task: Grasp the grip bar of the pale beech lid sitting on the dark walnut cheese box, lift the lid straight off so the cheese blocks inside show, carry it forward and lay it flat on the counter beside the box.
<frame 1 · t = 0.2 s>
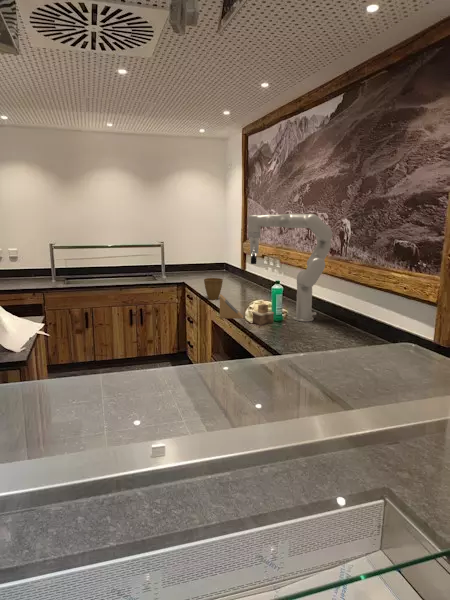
hand: (253, 263, 261), 36 cm above the counter, tool pointing down, fingers open, 9 cm apart
sandwich container: (231, 317, 276), on the counter
lid: (263, 313, 259), point 6 cm above the counter, touching box
box: (262, 322, 260), on the counter
plant pot: (213, 299, 334), on the counter
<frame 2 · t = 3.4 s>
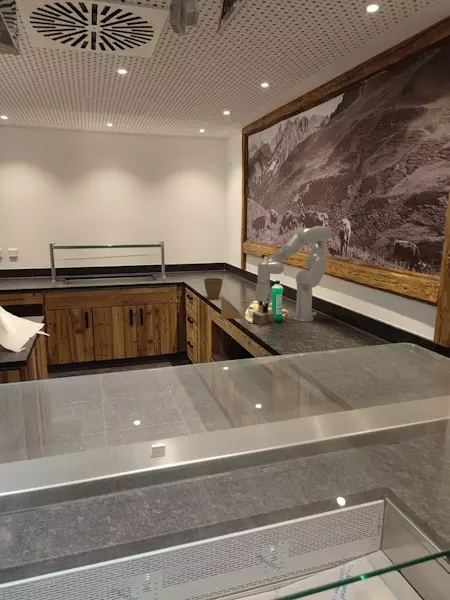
hand: (263, 311, 259), 7 cm above the counter, tool pointing down, fingers closed on lid, 3 cm apart
lid: (263, 313, 259), point 6 cm above the counter, touching box, gripper
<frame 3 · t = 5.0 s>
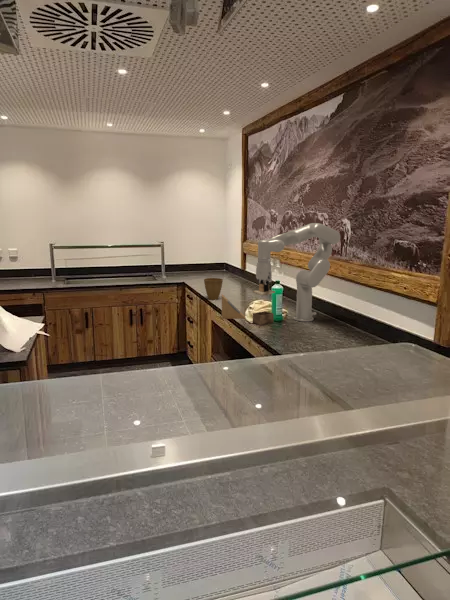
hand: (264, 290, 256), 21 cm above the counter, tool pointing down, fingers closed on lid, 3 cm apart
lid: (263, 292, 256), point 19 cm above the counter, touching gripper
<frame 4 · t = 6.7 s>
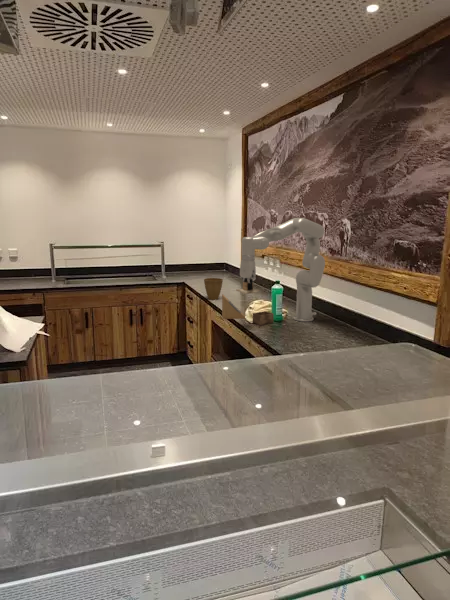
hand: (247, 288, 249), 23 cm above the counter, tool pointing down, fingers closed on lid, 3 cm apart
lid: (247, 291, 249), point 21 cm above the counter, touching gripper
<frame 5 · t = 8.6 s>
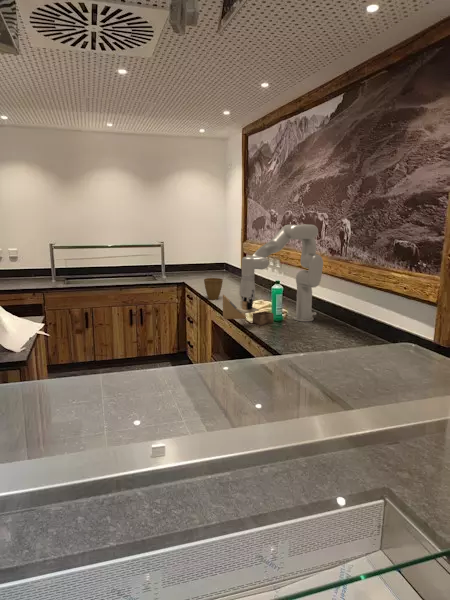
hand: (247, 308, 251), 11 cm above the counter, tool pointing down, fingers closed on lid, 3 cm apart
lid: (247, 310, 251), point 10 cm above the counter, touching gripper
when the fingers open (4 cm above the counter, at t = 10.3 s): lid drops 2 cm, point 1 cm above the counter.
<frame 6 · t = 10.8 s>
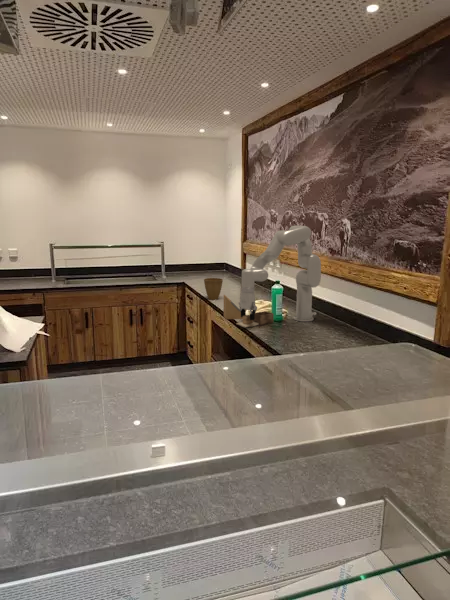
hand: (247, 318, 252), 5 cm above the counter, tool pointing down, fingers open, 8 cm apart
lid: (247, 324, 253), point 1 cm above the counter
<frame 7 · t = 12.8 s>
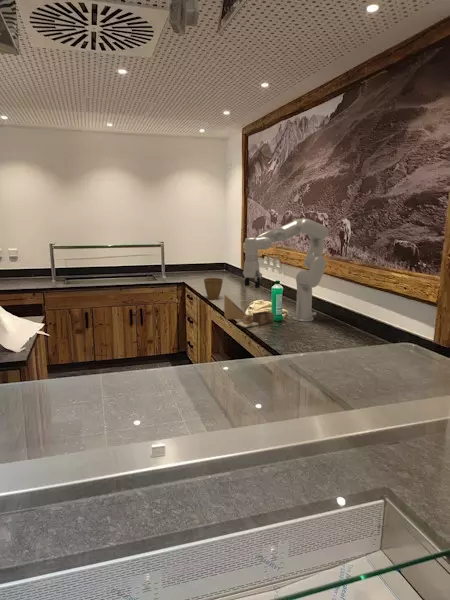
hand: (252, 286, 253), 23 cm above the counter, tool pointing down, fingers open, 9 cm apart
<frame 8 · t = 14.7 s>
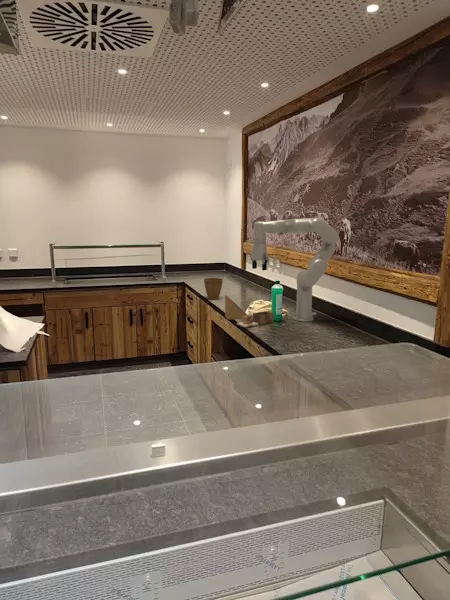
hand: (259, 269, 262), 32 cm above the counter, tool pointing down, fingers open, 9 cm apart
at the end: lid inside the target area (0.1 cm from its centre), point 0.8 cm above the counter; lid tilted 0°; lid touching counter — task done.
